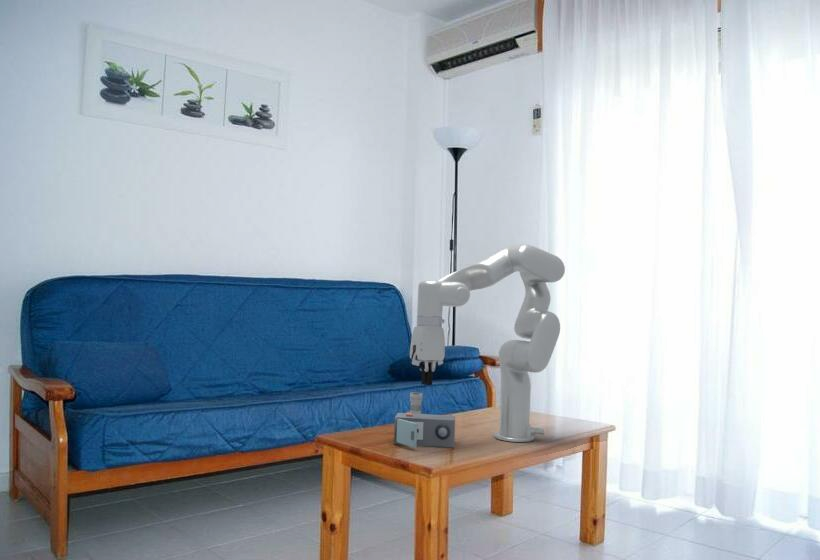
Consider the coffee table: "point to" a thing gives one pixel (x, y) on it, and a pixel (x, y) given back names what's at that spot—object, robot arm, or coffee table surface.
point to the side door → (406, 432)
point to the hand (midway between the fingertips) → (426, 384)
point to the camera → (415, 403)
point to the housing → (430, 429)
